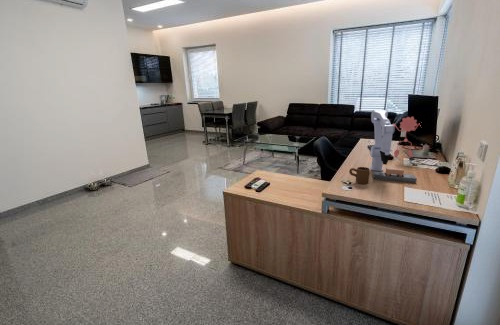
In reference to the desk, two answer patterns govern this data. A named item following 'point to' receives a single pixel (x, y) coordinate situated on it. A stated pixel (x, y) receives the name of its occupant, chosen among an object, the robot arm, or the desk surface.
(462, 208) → the desk surface
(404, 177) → the grey slotted tapered plate
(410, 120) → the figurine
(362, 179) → the mug
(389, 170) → the tan tabbed block
